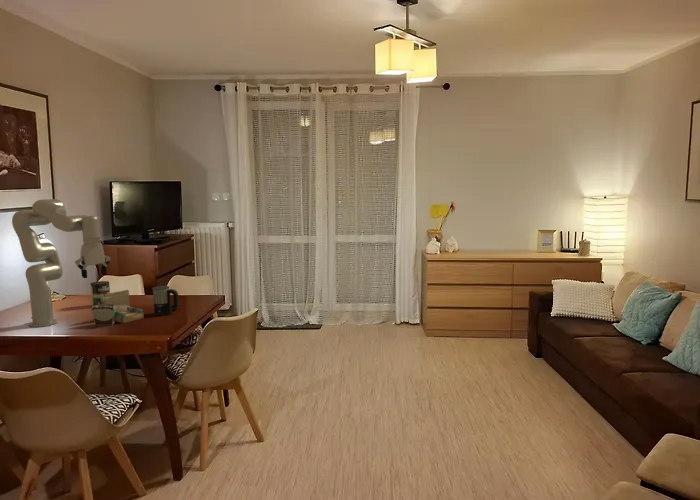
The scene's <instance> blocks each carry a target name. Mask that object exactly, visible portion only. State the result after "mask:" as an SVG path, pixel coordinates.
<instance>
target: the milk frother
mask: <svg viewBox="0 0 700 500" xmlns="http://www.w3.org/2000/svg"><path fill="white" fill-rule="evenodd" d="M151 289H152V297H153V307H154V308H153V311H154V313H153V314H154V315H155V316H156V315H157V316H163V315H168V314H169V315H170V314H171V313H172V310H174V309H175V310H177V309H178V308H179V307H180V306H181V303H180V302H179V292H178V291H177V290H176V289H171V288H170V286H169V285H160V286H159V285H157V286H154V287H152V288H151ZM171 294H172V296H173V303H172V301H171V300H172V299H171Z"/></svg>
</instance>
